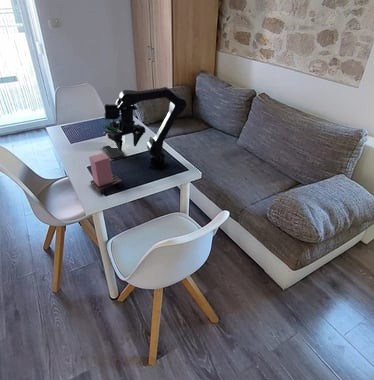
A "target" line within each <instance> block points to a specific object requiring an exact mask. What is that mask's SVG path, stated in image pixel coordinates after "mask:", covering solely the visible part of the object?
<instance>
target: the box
mask: <svg viewBox="0 0 374 380" xmlns="http://www.w3.org/2000/svg"><path fill="white" fill-rule="evenodd" d="M88 159H89V163H90V169H91V174H92V180H93V181H94V182H95V183H96V184H97V185H98V186H99V187H100V186H103V185H105V186H106V184H108V183H110V184H111V182H113V179H112V173H113V172H112V165H111V159H110V157H109V156H108V155H107V154H106V152H101V153H98V154H94V155H91V156H89V158H88ZM113 183H114V182H113ZM108 185H109V184H108ZM103 187H104V186H103Z"/></svg>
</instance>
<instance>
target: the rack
mask: <svg viewBox="0 0 374 380" xmlns="http://www.w3.org/2000/svg"><path fill="white" fill-rule="evenodd" d="M112 179H113V182H111V183H108V184H106V185H103V186H100V187H99V186H98V185H97V184H96V183H95V182H94V181H93V179H92V180H89V182H90V185H91V186H90V187H92V188H93V189H94V190H95V191H96V192H97V193H98V194H99V195H100V196H102V195H105V189H107V188H110V187H112V186H114V185H115V186H117V187H118V188H122V187H123V179H121V178H120V177H118V176H116V174H114V172H112Z"/></svg>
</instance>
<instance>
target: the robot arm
mask: <svg viewBox="0 0 374 380" xmlns="http://www.w3.org/2000/svg"><path fill="white" fill-rule="evenodd" d="M165 98H166V99H167V100H168V101H169V102H170V103H169V106H168V107H169V108H168V112H167V114H166V116H165V118H164V119H163V121H162V124H161V125H160V127H159V129H158V131H157V132H156V135H154V137H152V136H150V137H149V140H148V141H147V142H146V144H147V145H146V148H147V150H148V152H149V154H150V155H151V157H150V169H156V170H161V171H162V170H163V169H164V168H165V166H166V165H167V163H166V162H165V161H166V154H165V152H164V151H163V146H164V141H165V139H166V137H167V136H168V134H169V132H170V130H171V128H172V127H173V125H174V123H175V121H176V119H177V118H178V116H180V115H181V114H182V113H183V112H184V111H185V110H186V108H187V105H188V104H187V102H186V100H185V99H184V98H183V97H182V95H178V94H175V93H174V92H173V91H172V90H170V89H169V88H168V87H167V86H163V87H159V88H152V89H145V90H132V89H124V90H122V91H120V93H119V97H118V98H117V100H116V101H115V104H114V103H113V104H109V103H104V105H103V106H104V107H103V116H104V120H106V121H107V120H108V121H109V120H112V121H110V123H109V124H110V128H111V129H114V130H113V131H109V132H108V133H107V139H109V140H111V141H113V142H114V144H115V145H116V146H117V147H118V149H119V151H123V150H122V149H123V142H124V141H123V137H124V136H127V135H130V134H132V136H133V137H132V138H133V140H132V141H133V146H134V147H137V145H138V143H139V141H140V139H141V138H142V137H143V135H144V134H146V127H145V126H143V125H142V124H138V123H137V124H136V120H134V111H138V107H137V105H136V104H138V103H141V102H144V101H145V102H146V101H152V100H158V99H165ZM118 119H119V120H118ZM116 120H118V121H116ZM134 124H135V125H134ZM116 130H118V131H119V132H118V131H116Z"/></svg>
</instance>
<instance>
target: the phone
mask: <svg viewBox="0 0 374 380" xmlns="http://www.w3.org/2000/svg"><path fill="white" fill-rule="evenodd" d="M102 150H103V151H104V153H105V154H106V155H107V156H108V157H109V158H110V160H115V159H119V158H124V157H125V154H124V152H123V150H121V151H119V149H118V148H111V147H110V146H109V145H104V146H103V147H102Z"/></svg>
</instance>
